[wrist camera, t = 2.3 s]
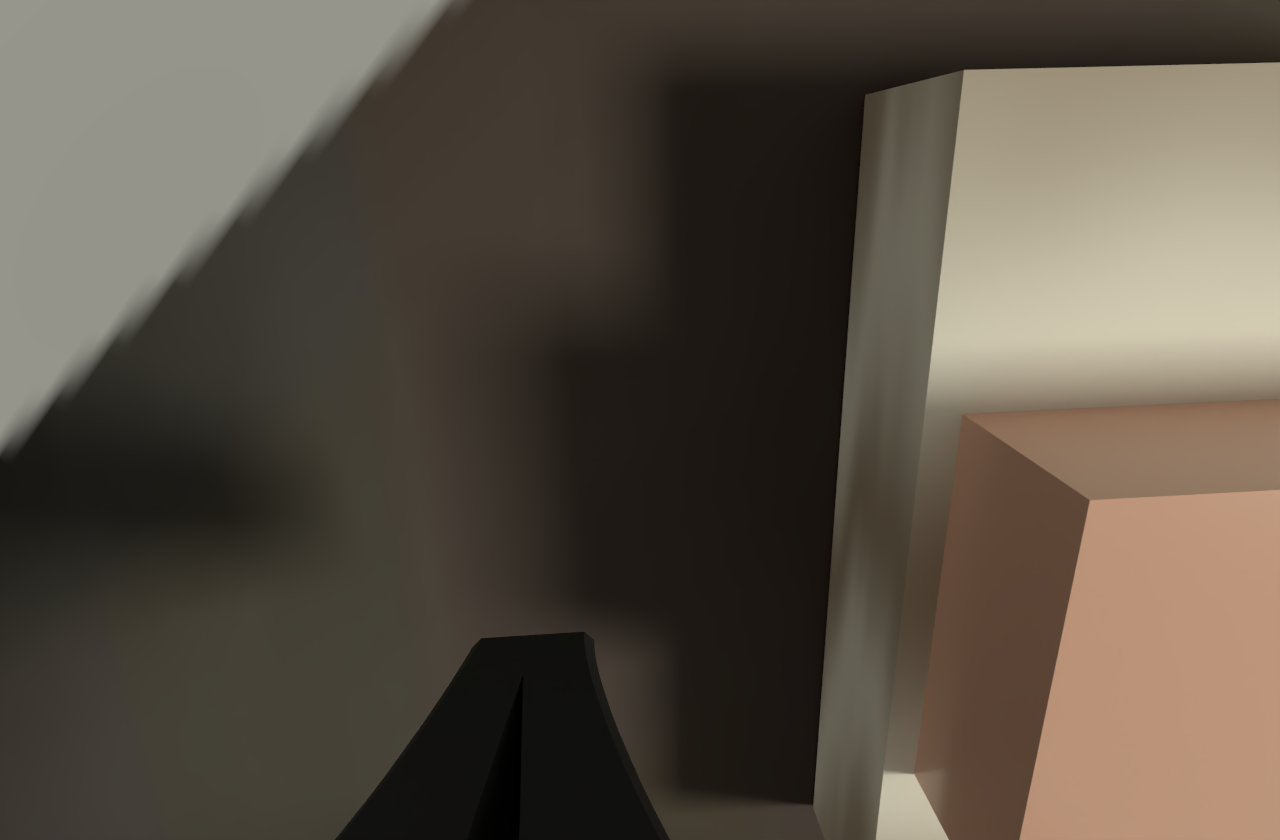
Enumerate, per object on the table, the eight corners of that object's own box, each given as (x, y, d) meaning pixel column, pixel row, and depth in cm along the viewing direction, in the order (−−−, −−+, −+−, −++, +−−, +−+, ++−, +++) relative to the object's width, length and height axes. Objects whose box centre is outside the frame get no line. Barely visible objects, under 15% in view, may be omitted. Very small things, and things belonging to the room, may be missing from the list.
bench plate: (1213, 776, 16) (1348, 910, 13) (813, 806, 15) (862, 951, 13) (1436, 80, 11) (1726, 51, 8) (865, 94, 11) (963, 69, 8)
